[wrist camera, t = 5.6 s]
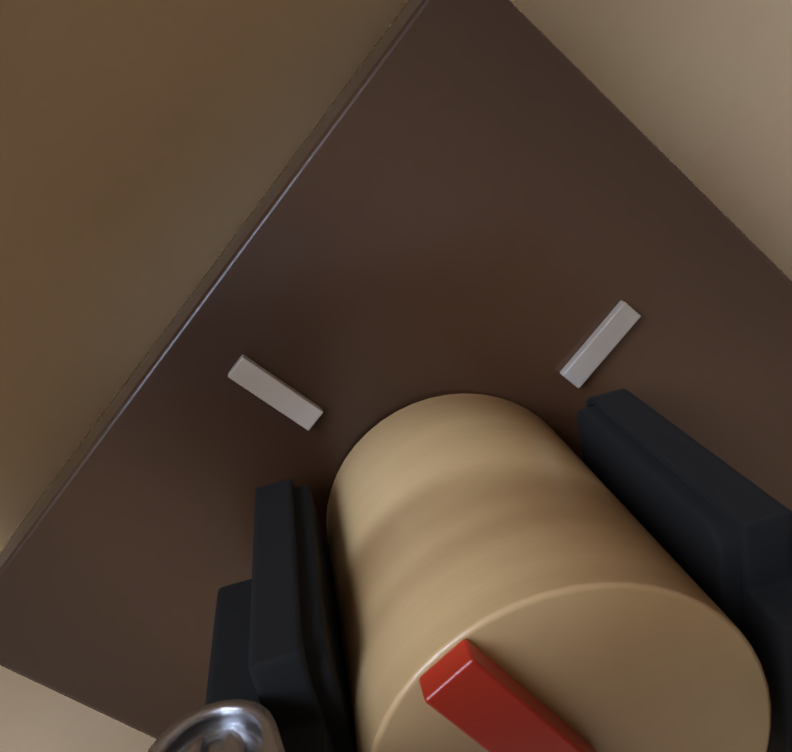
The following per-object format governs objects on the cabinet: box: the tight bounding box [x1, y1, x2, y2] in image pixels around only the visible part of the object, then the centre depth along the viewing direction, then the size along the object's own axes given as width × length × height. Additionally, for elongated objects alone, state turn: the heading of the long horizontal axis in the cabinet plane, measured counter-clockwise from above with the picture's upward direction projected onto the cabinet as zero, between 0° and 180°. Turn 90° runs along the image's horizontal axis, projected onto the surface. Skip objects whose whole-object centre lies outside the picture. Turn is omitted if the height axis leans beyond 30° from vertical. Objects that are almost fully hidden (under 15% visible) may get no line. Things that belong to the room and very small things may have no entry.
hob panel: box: [0, 0, 792, 739], centre depth 13 cm, size 12×10×3 cm
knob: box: [326, 393, 771, 752], centre depth 9 cm, size 4×4×5 cm
